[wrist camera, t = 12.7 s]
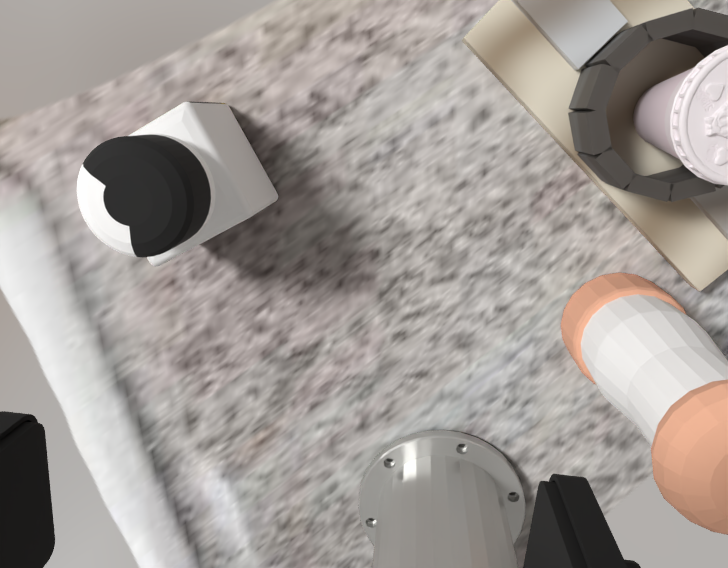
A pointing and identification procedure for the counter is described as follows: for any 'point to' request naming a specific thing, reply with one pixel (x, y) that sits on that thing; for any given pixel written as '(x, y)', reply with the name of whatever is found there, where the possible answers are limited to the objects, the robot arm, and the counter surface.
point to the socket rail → (615, 107)
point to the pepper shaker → (659, 385)
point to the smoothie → (690, 117)
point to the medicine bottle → (173, 183)
